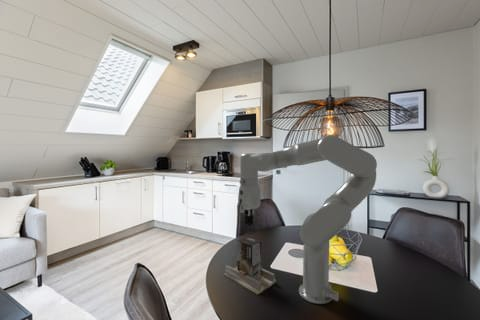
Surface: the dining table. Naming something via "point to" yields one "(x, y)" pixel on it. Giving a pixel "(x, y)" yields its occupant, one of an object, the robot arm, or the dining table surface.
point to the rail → (251, 279)
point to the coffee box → (249, 257)
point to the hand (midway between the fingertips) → (248, 224)
